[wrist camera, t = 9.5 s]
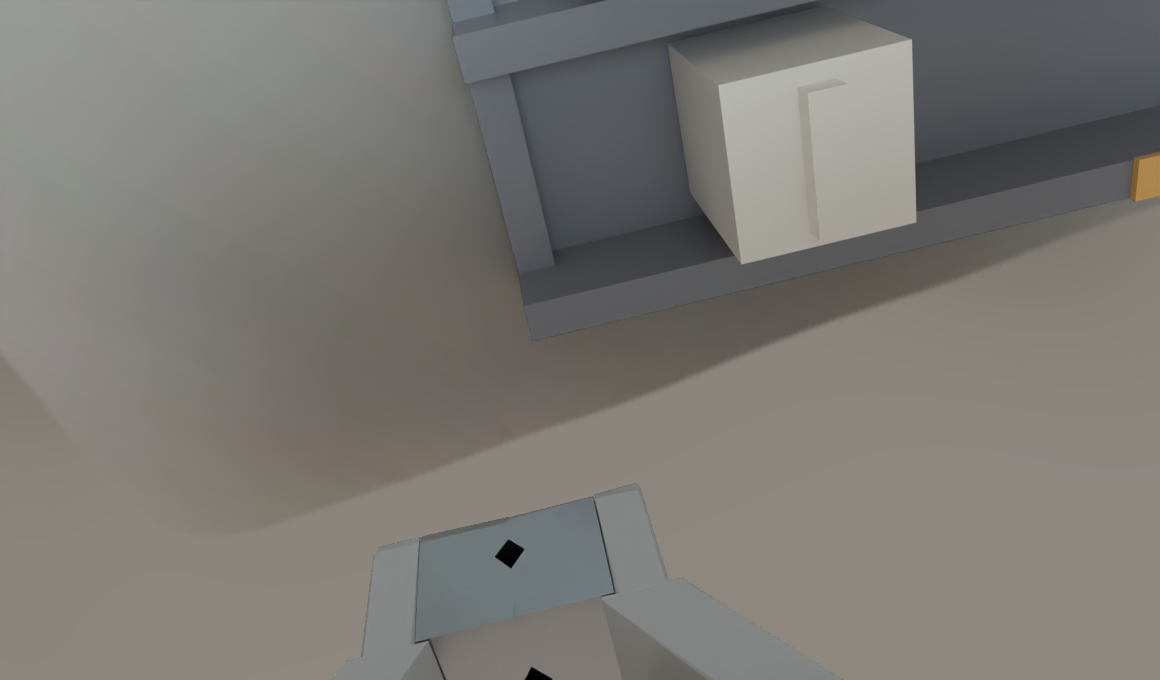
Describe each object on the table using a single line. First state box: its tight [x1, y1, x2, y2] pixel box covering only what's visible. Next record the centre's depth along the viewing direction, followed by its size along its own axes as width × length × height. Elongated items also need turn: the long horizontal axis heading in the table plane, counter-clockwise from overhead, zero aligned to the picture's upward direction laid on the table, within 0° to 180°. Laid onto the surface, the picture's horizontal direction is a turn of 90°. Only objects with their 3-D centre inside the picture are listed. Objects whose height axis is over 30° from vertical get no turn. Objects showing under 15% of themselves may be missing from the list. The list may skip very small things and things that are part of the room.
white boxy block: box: [667, 6, 916, 265], centre depth 21 cm, size 4×4×6 cm
